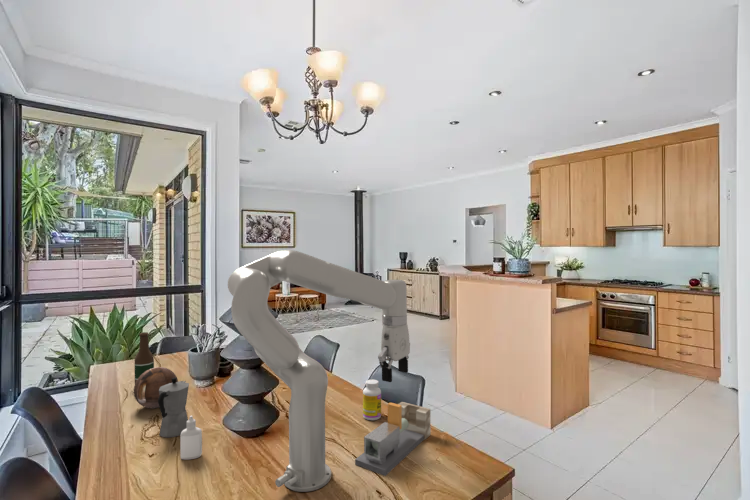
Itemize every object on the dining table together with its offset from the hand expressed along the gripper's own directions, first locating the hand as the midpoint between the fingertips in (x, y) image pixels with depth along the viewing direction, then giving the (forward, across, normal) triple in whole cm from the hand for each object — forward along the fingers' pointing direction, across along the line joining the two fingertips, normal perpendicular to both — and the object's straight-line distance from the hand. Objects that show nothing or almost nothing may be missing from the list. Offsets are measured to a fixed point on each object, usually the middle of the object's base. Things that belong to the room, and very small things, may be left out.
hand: (395, 376), depth 117 cm
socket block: (+22, +11, 0) cm, 25 cm away
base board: (+22, -2, 0) cm, 22 cm away
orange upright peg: (+18, -3, 0) cm, 18 cm away
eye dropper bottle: (+22, -37, +48) cm, 65 cm away
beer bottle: (+21, -16, +119) cm, 122 cm away
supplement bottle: (+22, +14, +18) cm, 32 cm away
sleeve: (+21, -8, 0) cm, 22 cm away
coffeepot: (+22, -32, +67) cm, 78 cm away
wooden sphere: (+22, -24, +93) cm, 99 cm away
